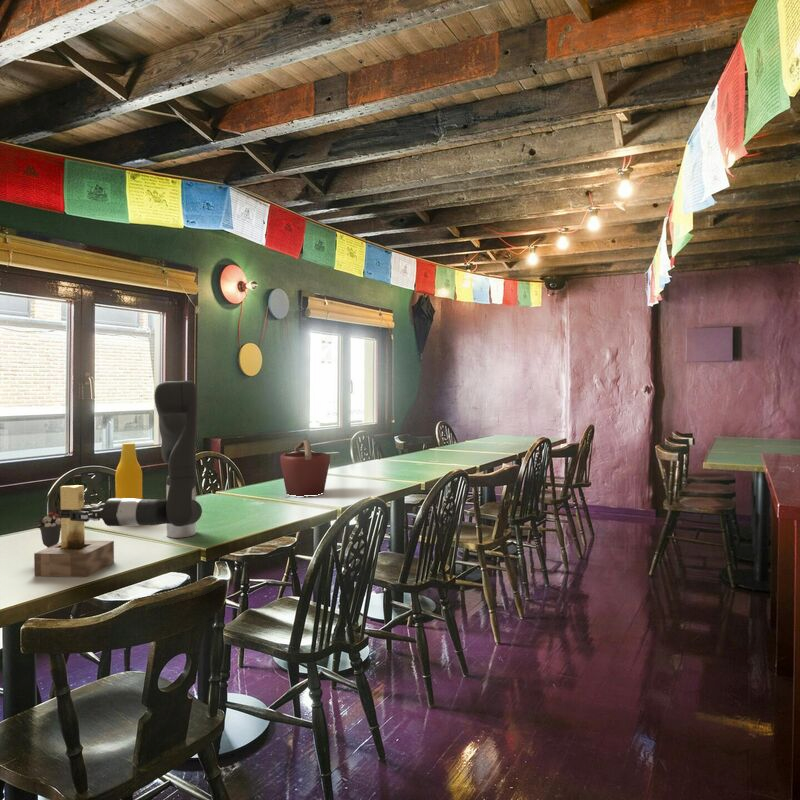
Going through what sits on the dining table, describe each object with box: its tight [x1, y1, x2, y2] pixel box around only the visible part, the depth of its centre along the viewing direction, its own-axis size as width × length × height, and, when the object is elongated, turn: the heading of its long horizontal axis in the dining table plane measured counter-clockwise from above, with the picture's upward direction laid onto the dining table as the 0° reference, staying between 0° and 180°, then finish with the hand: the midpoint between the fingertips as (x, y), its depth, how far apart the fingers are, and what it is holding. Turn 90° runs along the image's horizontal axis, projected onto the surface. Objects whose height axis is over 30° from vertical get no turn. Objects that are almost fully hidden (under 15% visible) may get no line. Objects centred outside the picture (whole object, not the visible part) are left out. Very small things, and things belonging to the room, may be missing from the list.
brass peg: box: [59, 484, 86, 550], centre depth 167 cm, size 4×6×18 cm
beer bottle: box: [114, 442, 143, 499], centre depth 226 cm, size 9×9×29 cm
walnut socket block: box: [33, 539, 115, 578], centre depth 168 cm, size 14×14×6 cm
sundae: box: [36, 506, 61, 548], centre depth 177 cm, size 7×7×15 cm
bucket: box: [279, 439, 331, 496], centre depth 284 cm, size 24×22×25 cm
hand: (65, 511), depth 168 cm, fingers closed on brass peg, 4 cm apart
